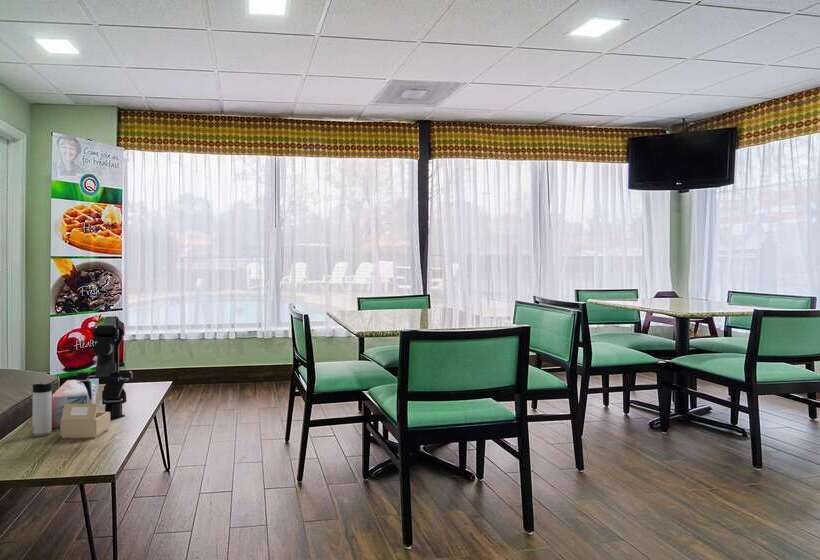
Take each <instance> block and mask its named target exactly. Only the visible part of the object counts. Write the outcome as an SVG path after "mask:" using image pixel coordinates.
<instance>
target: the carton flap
mask: <svg viewBox="0 0 820 560" xmlns="http://www.w3.org/2000/svg"><path fill="white" fill-rule="evenodd" d="M98 407H99V405H98V404H65V405H64V409H63V414H62V418H61V420H95V417H96V412H98Z"/></svg>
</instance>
